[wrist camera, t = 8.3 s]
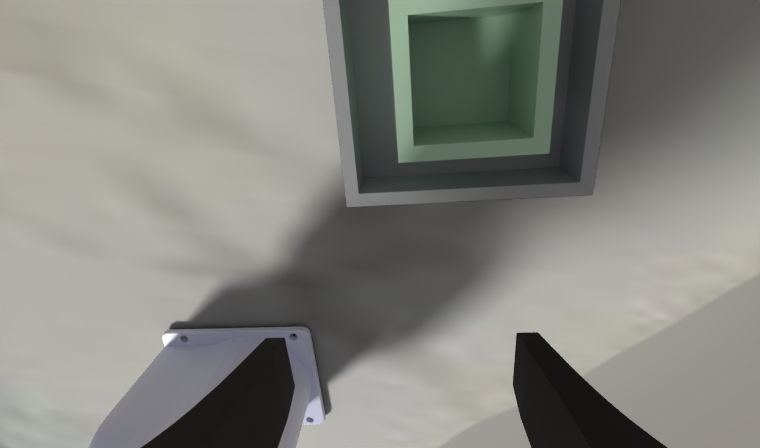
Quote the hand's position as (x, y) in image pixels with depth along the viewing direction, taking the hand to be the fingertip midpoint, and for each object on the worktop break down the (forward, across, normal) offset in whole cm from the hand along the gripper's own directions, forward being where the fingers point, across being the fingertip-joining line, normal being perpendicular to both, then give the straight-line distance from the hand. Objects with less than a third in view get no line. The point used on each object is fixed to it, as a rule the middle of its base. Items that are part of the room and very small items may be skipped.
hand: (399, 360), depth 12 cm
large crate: (+10, -3, -8) cm, 13 cm away
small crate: (+9, -3, -8) cm, 13 cm away
